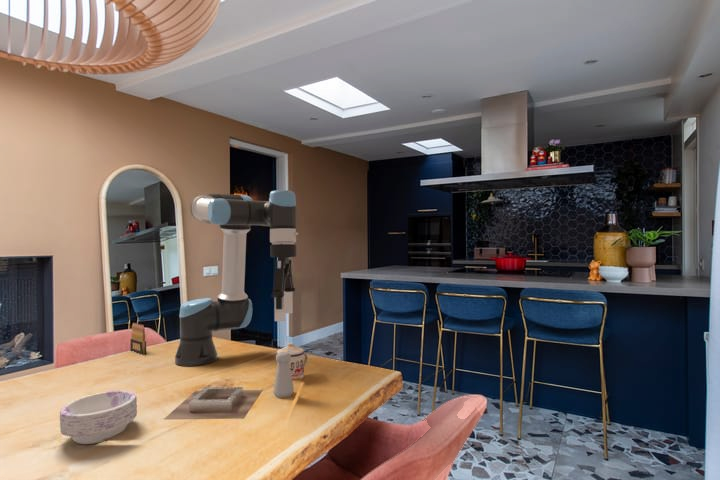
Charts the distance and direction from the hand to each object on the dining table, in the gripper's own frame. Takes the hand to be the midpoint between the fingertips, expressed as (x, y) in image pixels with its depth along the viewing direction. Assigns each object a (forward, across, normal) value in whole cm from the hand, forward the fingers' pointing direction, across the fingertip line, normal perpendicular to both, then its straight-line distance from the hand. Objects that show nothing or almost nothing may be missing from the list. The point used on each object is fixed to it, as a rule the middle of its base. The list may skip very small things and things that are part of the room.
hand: (284, 316), depth 119 cm
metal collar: (+22, -6, +17) cm, 29 cm away
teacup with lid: (+23, +19, 0) cm, 30 cm away
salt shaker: (+24, 0, 0) cm, 24 cm away
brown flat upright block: (+23, +54, +71) cm, 92 cm away
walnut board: (+23, -6, +17) cm, 30 cm away
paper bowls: (+24, -22, +40) cm, 51 cm away
